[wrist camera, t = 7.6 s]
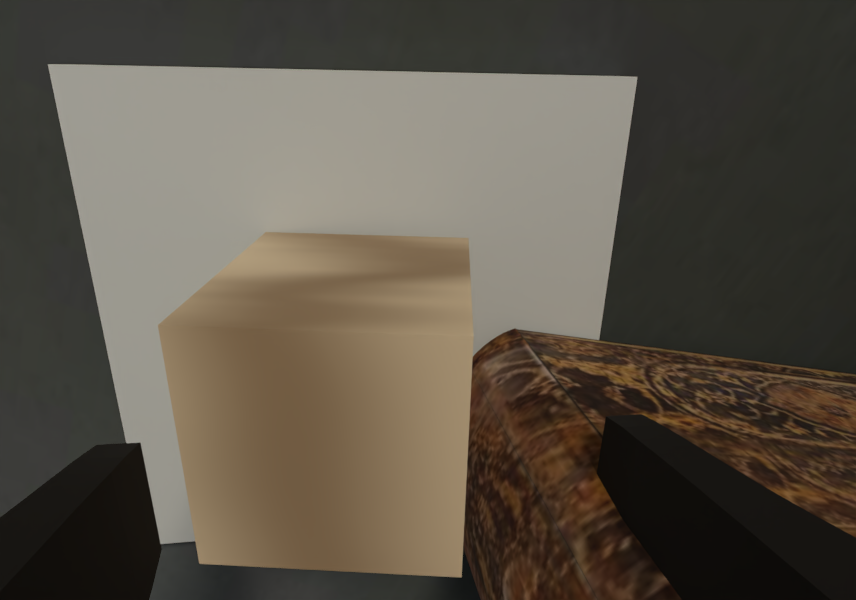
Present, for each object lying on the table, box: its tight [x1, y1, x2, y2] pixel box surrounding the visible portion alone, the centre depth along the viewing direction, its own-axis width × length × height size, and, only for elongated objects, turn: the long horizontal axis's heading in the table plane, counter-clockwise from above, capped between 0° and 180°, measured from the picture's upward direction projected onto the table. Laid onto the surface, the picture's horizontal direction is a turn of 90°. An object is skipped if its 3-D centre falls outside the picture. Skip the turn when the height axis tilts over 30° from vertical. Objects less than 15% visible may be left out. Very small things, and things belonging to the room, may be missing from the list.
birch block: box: [158, 232, 474, 578], centre depth 11 cm, size 4×4×5 cm
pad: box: [48, 64, 637, 544], centre depth 15 cm, size 12×12×1 cm
